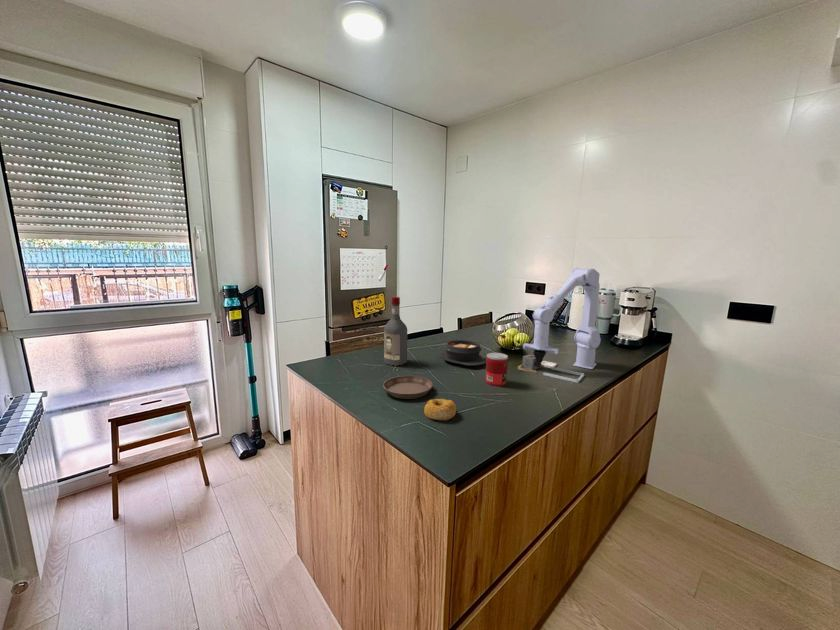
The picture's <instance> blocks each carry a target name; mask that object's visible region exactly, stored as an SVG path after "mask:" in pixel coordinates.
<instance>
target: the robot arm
mask: <svg viewBox="0 0 840 630" xmlns="http://www.w3.org/2000/svg"><path fill="white" fill-rule="evenodd" d="M600 286H601V284H600V272H598V271H597V270H596V269H595V268H580V267H576V268H574V269H572V271H571V272H570V273H569V274H568V279H567V280H566V281H565V282H564V283H563V285H562V286H561V287H560V289H559V290H558V291H557V292H556V293H555V294H551V295H549V296H548V297H547V299H546V301H544V303H543V304H541V306H540V307H537V308H536V309H535V310H534V311H533V313H532V319H533V320H534V322H533V323H534V334H533V343H526V342H524V343H523V344H522V349H527V350H533V352H532V353H533V356H535V357H536V360H537V367H538V368H537V369H540V368H542V367H541V362H542V361H544V360H543V359H544V358H545V356H546V354H547V353H551V354H555V355H558V354H559V351H560V350H559V348H556V347H552V346H550V345H549V337H550V322H552V321H553V320H554V316H555V313H556V312H557V311H558V310H559V309H560V307H561V306H562V305H563V304H564V299H565V298H566V297H567V296H568V295H569V294H570V292H572V291H573V290H574V289H575V288H576V287H582V289H584V298H583V306H582V317H581V323H580V325H579V326H578V327H577V328H576V330H575V331H576V332H575V334H574V336H573V339H574V341H575V343H576V345H577V346H576V347H577V350H576V357H575V362H574V363H573V364H572V366H573V367H574V366H575V367H577V368H578V367H579V368H584V369H589V370H593V369H594V368H595V367H596V365H597V362H595V360H596V359H595V358H596V349H597V348H598V347H599V346H600V344H601V341H602V339H601V331H600V330H599V328H597V326H596V322H597V315H598V314H597V313H598V304H599V296H600V289H601V288H600Z"/></svg>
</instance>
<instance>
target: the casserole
mask: <svg viewBox="0 0 840 630" xmlns="http://www.w3.org/2000/svg"><path fill="white" fill-rule="evenodd" d="M481 351H482V348H481V346H480V344H479V343H478V342H476V341H473V340H465V339H457V340H450V341H447V342H446V344H445V346H444V351H440V352H439V354H440V355H441V357H442V359H444V360H445V361H447V362H449V363H453V364H456V365H463V366H467V367H475V366H476V367H477V366H481V365H484V364H485V365H486V359H485V358H484V357H483V356H482V355H480V352H481Z"/></svg>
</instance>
